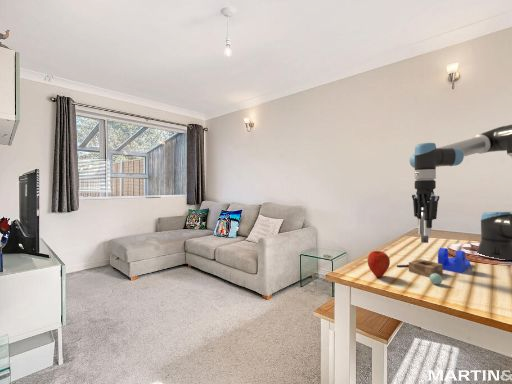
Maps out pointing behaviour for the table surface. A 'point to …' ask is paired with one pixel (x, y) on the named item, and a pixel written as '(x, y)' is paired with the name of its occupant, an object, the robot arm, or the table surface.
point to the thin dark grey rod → (402, 265)
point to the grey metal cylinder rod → (423, 237)
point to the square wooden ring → (425, 267)
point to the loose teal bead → (435, 278)
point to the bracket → (453, 261)
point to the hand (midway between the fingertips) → (424, 234)
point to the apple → (378, 263)
